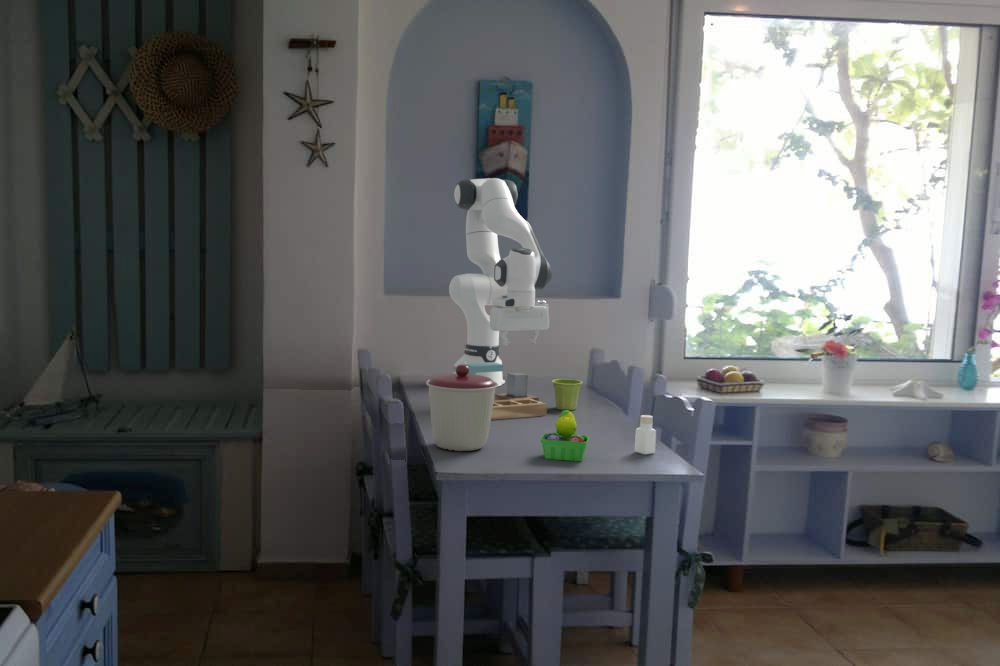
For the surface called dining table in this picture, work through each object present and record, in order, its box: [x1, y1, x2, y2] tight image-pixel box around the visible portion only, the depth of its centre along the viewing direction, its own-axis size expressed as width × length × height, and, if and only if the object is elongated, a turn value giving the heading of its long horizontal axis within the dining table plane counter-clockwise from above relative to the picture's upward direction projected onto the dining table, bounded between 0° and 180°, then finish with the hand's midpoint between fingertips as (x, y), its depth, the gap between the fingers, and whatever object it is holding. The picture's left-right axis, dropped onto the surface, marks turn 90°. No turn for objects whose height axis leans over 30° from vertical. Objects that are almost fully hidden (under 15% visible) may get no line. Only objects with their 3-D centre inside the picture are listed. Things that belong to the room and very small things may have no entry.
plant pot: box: [551, 378, 583, 411], centre depth 305 cm, size 9×9×9 cm
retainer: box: [464, 363, 504, 375], centre depth 300 cm, size 13×7×12 cm, turn 121°
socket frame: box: [494, 392, 540, 402], centre depth 304 cm, size 27×10×3 cm, turn 121°
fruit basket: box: [540, 409, 590, 462], centre depth 241 cm, size 11×9×11 cm
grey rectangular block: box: [506, 372, 529, 398], centre depth 308 cm, size 5×5×10 cm
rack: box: [491, 398, 548, 421], centre depth 292 cm, size 10×22×4 cm, turn 121°
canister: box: [425, 365, 499, 452], centre depth 247 cm, size 18×18×21 cm
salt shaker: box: [634, 414, 657, 455], centre depth 249 cm, size 4×4×10 cm
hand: (519, 344), depth 306 cm, fingers open, 8 cm apart
